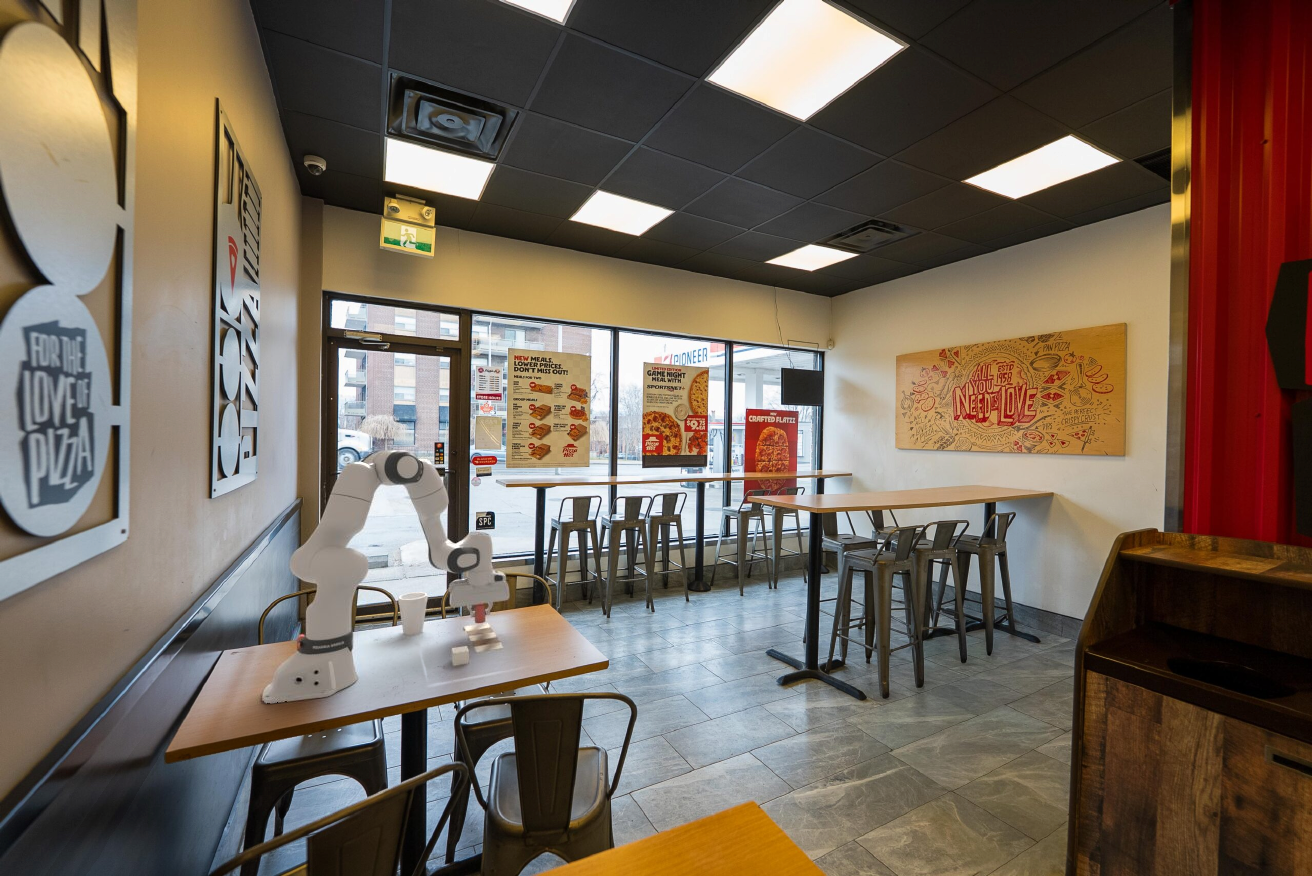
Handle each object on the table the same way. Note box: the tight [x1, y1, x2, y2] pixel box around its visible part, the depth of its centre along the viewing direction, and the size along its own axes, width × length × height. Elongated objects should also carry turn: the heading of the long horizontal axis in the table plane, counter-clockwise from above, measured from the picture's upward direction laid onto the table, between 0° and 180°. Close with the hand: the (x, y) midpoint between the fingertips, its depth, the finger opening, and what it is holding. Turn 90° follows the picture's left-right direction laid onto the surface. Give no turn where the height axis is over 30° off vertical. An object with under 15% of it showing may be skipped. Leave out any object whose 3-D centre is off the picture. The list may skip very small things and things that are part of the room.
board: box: [462, 622, 504, 653], centre depth 191 cm, size 9×28×1 cm, turn 27°
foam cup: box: [398, 591, 428, 636], centre depth 197 cm, size 10×9×13 cm
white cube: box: [451, 645, 470, 667], centre depth 169 cm, size 4×4×4 cm
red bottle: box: [474, 603, 486, 624], centre depth 196 cm, size 4×4×9 cm
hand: (480, 615), depth 196 cm, fingers closed on red bottle, 4 cm apart
